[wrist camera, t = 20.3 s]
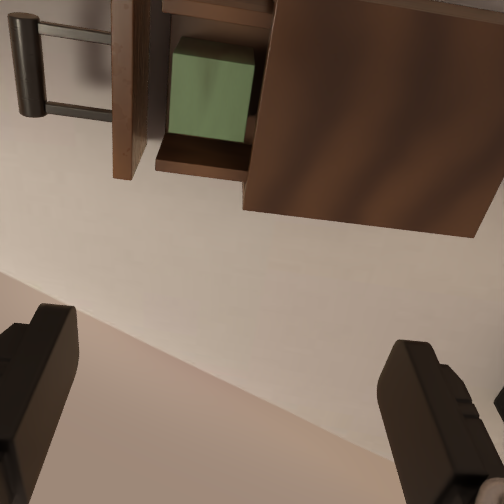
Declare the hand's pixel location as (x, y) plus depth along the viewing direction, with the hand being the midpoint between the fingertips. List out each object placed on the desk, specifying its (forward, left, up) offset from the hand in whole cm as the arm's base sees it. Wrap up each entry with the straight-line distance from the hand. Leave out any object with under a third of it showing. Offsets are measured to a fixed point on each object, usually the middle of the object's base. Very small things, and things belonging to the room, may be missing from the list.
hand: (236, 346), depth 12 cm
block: (+1, 0, -22) cm, 22 cm away
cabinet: (+9, 0, -26) cm, 28 cm away
